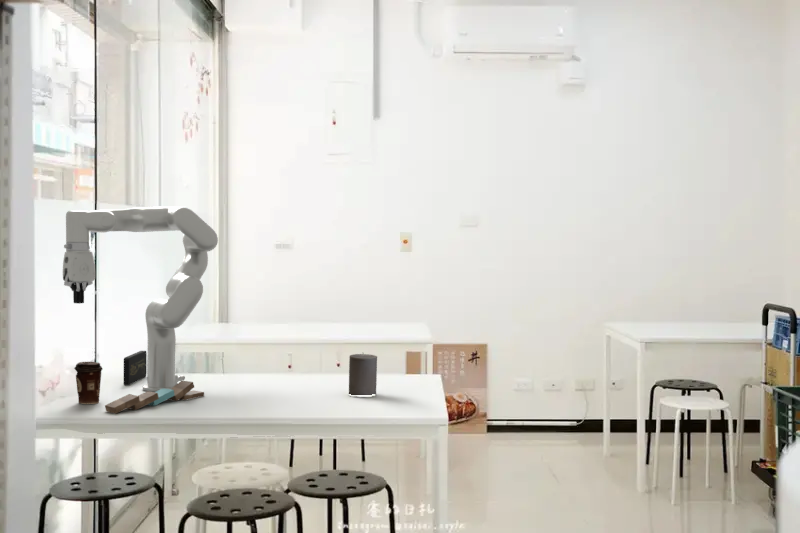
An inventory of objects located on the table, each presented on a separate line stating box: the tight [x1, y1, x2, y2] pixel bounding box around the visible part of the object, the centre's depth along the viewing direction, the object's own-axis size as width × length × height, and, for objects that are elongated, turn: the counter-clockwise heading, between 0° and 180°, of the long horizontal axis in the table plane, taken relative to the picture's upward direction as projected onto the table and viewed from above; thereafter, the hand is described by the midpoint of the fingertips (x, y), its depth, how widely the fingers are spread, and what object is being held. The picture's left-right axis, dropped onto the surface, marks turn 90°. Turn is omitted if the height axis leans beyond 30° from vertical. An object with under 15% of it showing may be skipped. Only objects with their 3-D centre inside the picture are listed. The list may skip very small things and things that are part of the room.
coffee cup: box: [73, 361, 103, 405], centre depth 288 cm, size 9×8×13 cm
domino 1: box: [127, 391, 159, 411], centre depth 282 cm, size 2×5×9 cm
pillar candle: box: [348, 353, 378, 395], centre depth 308 cm, size 10×10×15 cm
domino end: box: [179, 389, 205, 401], centre depth 300 cm, size 2×5×9 cm
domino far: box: [104, 393, 140, 414], centre depth 276 cm, size 2×5×9 cm
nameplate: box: [123, 350, 148, 386], centre depth 331 cm, size 21×2×10 cm, turn 179°
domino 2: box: [146, 388, 175, 407], centre depth 289 cm, size 2×5×9 cm
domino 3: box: [166, 380, 195, 402], centre depth 297 cm, size 2×5×9 cm
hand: (78, 303), depth 295 cm, fingers closed
